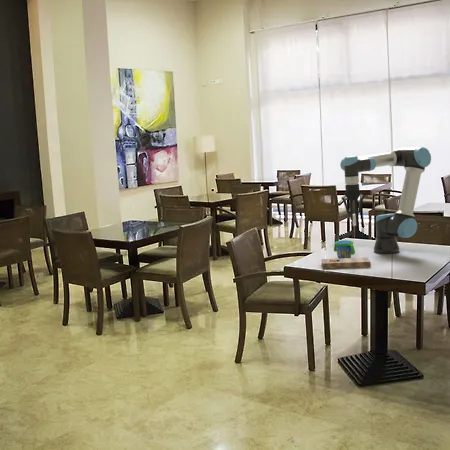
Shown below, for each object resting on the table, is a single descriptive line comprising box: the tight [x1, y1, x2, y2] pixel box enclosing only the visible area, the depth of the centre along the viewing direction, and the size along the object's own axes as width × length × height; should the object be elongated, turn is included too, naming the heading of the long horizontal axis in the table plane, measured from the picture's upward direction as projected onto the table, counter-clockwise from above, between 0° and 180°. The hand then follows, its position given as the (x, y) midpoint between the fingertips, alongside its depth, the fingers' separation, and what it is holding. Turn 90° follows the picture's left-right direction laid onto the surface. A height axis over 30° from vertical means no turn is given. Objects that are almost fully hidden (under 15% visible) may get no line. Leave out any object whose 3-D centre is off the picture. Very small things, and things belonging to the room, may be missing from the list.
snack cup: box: [333, 240, 356, 258], centre depth 344 cm, size 16×10×10 cm
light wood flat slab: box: [321, 256, 372, 270], centre depth 326 cm, size 26×12×3 cm, turn 83°
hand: (354, 225), depth 327 cm, fingers closed
